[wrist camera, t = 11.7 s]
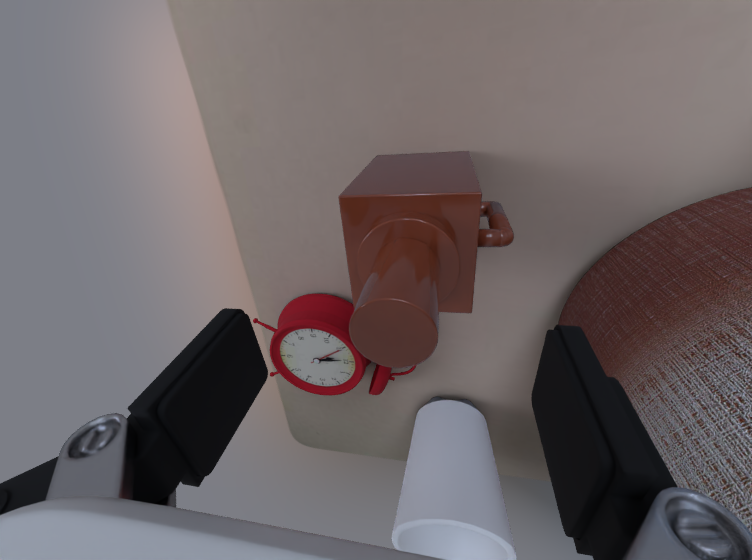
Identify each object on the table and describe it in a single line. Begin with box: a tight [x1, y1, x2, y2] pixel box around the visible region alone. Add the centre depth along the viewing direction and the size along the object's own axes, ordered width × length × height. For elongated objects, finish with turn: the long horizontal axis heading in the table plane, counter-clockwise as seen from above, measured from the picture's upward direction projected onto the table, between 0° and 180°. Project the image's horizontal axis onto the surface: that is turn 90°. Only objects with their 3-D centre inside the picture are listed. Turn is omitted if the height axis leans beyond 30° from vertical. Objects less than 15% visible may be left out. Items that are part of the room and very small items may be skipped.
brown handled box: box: [339, 151, 514, 368], centre depth 18 cm, size 7×9×16 cm
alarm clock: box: [253, 294, 416, 395], centre depth 32 cm, size 10×6×15 cm
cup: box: [392, 397, 516, 560], centre depth 32 cm, size 10×10×13 cm
